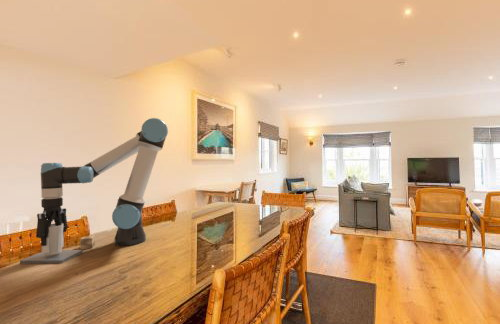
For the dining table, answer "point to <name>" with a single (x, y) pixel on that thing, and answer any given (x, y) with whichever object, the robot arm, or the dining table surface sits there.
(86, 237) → the oak cube
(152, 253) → the dining table surface
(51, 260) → the slate board
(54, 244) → the cup
